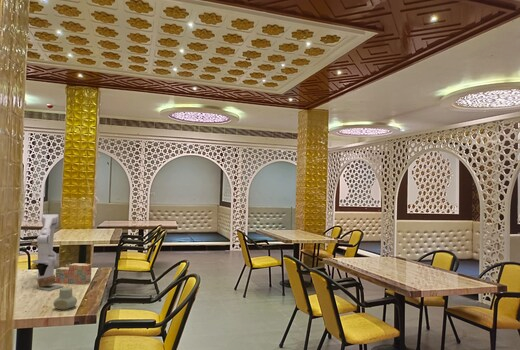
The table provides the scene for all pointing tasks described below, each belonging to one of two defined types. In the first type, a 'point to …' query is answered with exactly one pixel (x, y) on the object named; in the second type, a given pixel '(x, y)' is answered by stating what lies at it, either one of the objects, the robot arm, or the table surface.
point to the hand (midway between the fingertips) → (41, 275)
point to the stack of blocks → (74, 274)
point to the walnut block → (46, 281)
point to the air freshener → (65, 299)
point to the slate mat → (49, 287)
